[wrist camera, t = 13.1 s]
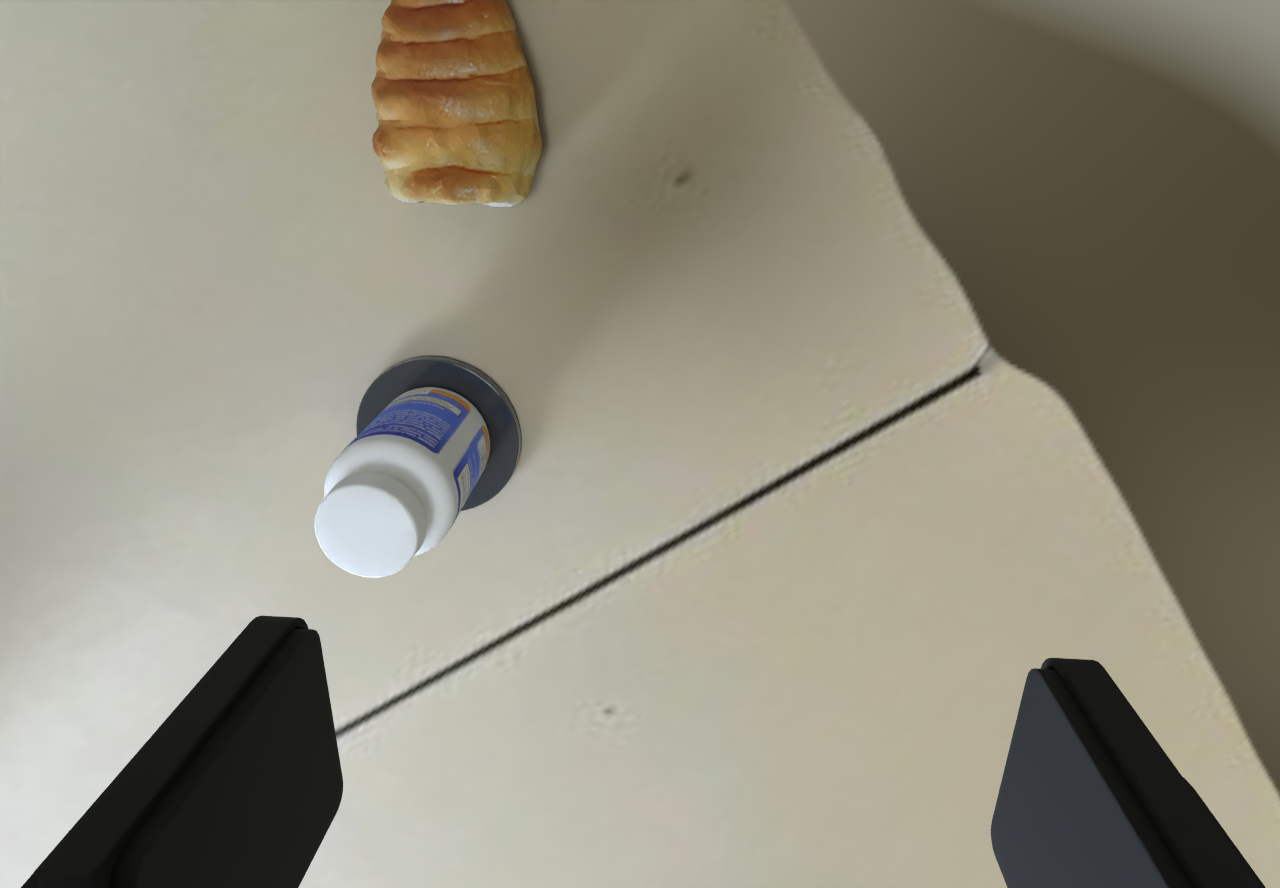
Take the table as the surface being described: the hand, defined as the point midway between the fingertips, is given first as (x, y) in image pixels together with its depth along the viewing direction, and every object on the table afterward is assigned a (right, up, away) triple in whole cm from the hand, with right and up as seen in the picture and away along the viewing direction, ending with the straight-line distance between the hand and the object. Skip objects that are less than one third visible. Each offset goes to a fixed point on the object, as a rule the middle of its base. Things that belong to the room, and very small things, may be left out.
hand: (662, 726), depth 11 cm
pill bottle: (-10, +4, +29) cm, 31 cm away
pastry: (-8, +18, +24) cm, 31 cm away
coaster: (-10, +4, +29) cm, 31 cm away
